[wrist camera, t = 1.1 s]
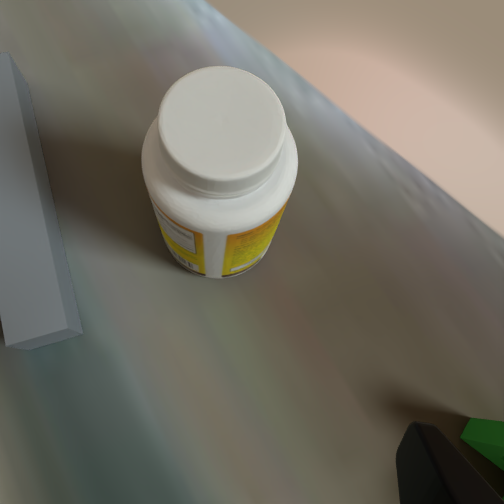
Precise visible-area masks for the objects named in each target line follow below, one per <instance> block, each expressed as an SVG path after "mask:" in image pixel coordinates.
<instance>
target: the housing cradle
mask: <svg viewBox="0 0 504 504" xmlns="http://www.w3.org/2000/svg"><path fill="white" fill-rule="evenodd" d="M0 317H1V322H2V328H3V333H4V339H5V344H6V346H8V347H14V348H19V349H24V350H31V349H35V348H38V347H41V346H45V345H48V344H52V343H55V342H59V341H62V340H65V339H69V338H72V337H76V336H79V335H82V334H83V331H82V326H81V322H80V317H79V313H78V308H77V304H76V299H75V295H74V290H73V286H72V281H71V277H70V272H69V268H68V263H67V259H66V254H65V250H64V245H63V241H62V236H61V232H60V227H59V223H58V218H57V214H56V210H55V205H54V201H53V196H52V192H51V187H50V183H49V178H48V174H47V169H46V165H45V160H44V156H43V151H42V147H41V142H40V138H39V133H38V129H37V124H36V120H35V115H34V111H33V106H32V102H31V98H30V93H29V89H28V84H27V82H26V80H25V79H24V77H23V75H22V74H21V72H20V70H19V69H18V67H17V65H16V64H15V62H14V60H13V59H12V57H11V55H10V54H9V52H3V53H0Z"/></svg>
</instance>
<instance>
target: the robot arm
mask: <svg viewBox="0 0 504 504" xmlns="http://www.w3.org/2000/svg"><path fill="white" fill-rule="evenodd" d="M396 468H397V478H398V487H399V497H400V504H504V500H503V499H502V498H501V497H500V496H499V495H498V494H497V493H496V491H495V490H494V489H493V488H492V487H491V486H490V485H489V484H488V483H487V481H486V480H485V479H484V478H483V477H482V476H481V475H480V474H479V473H478V471H477V470H476V469H475V468H474V467H473V466H472V465H471V464H470V463H469V461H468V460H467V459H466V458H465V457H464V456H463V455H462V454H461V453H460V452H459V450H458V449H457V448H456V447H455V446H454V445H453V444H452V443H451V442H450V440H449V439H448V438H447V437H446V436H445V435H444V434H443V433H442V432H441V430H440V429H439V428H438V427H437V426H435V425H434V424H431V423H424V422H417V421H413V422H412V423H410V425H409V426H408V428H407V430H406V432H405V434H404V436H403V438H402V441H401V443H400V445H399V447H398V449H397V453H396Z"/></svg>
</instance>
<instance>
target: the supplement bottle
mask: <svg viewBox="0 0 504 504" xmlns="http://www.w3.org/2000/svg"><path fill="white" fill-rule="evenodd" d="M141 162H142V171H143V176H144V181H145V184H146V187H147V190H148V193H149V196H150V199H151V202H152V205H153V208H154V211H155V214H156V218H157V220H158V223H159V226H160V229H161V232H162V235H163V239H164V241H165V244H166V246H167V248H168V250H169V251H170V253H171V254H172V256H173V257H174V258H175V260H176V261H177V262H178V263H179V264H181V265H182V266H183V267H184V268H186V269H187V270H189V271H191V272H193V273H195V274H197V275H200V276H203V277H208V278H228V277H232V276H236V275H239V274H241V273H243V272H245V271H247V270H248V269H250V268H252V267H253V266H254V265H255V264H257V263H258V262H259V261H260V259H261V258H262V257H263V256H264V254H265V253H266V251H267V249H268V247H269V245H270V243H271V240H272V238H273V235H274V233H275V231H276V228H277V226H278V223H279V221H280V218H281V216H282V213H283V211H284V209H285V206H286V204H287V201H288V199H289V197H290V194H291V192H292V189H293V187H294V183H295V180H296V175H297V169H298V156H297V149H296V144H295V141H294V139H293V136H292V134H291V132H290V129H289V128H288V126H287V124H286V118H285V113H284V110H283V107H282V104H281V102H280V100H279V98H278V97H277V95H276V94H275V93H274V91H273V90H272V89H271V88H270V86H268V85H267V84H266V83H265V82H264V81H263V80H261V79H260V78H258V77H257V76H255V75H253V74H251V73H249V72H247V71H244V70H241V69H238V68H234V67H228V66H211V67H205V68H201V69H198V70H195V71H192V72H190V73H188V74H186V75H185V76H183V77H181V78H180V79H179V80H177V81H176V82H175V83H174V84H173V85H172V86H171V87H170V88H169V90H168V91H167V92H166V94H165V96H164V98H163V99H162V101H161V104H160V107H159V111H158V116H157V117H156V118H155V119H154V121H153V123H152V124H151V126H150V128H149V130H148V132H147V134H146V137H145V140H144V143H143V148H142V159H141Z"/></svg>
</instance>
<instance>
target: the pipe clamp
mask: <svg viewBox="0 0 504 504" xmlns="http://www.w3.org/2000/svg"><path fill="white" fill-rule="evenodd" d="M460 438H461V439H462V440H464V441H465V442H466V443H468V444H469V445H470V446H471V447H473V448H474V449H475V450H477V451H478V452H479V453H481V454H482V455H483V456H485V457H486V458H487V459H489V460H490V461H491V462H493V463H494V464H495V465H497V466H498V467H499V468H501V469H502V470H503V471H504V422H502V421H494V420H486V419H477V418H470V420H469V422H468V424H467V425H466V427H465V429H464V431H463V433H462V434H461V436H460ZM502 499H503V500H504V497H503V498H502Z"/></svg>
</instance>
